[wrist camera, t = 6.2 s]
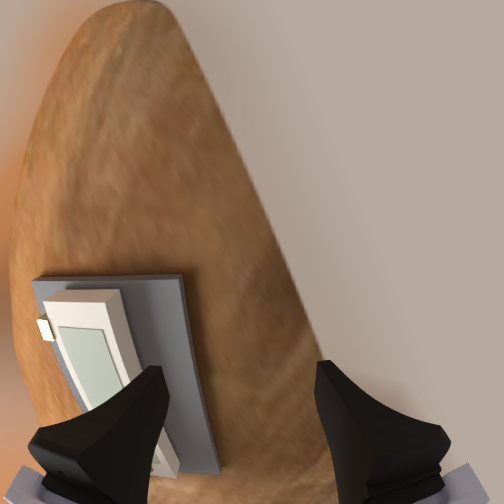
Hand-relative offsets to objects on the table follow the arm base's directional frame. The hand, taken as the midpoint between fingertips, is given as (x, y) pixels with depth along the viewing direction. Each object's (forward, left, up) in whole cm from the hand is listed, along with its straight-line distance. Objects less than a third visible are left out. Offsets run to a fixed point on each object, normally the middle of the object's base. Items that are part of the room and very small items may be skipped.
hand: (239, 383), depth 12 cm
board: (-11, +4, -6) cm, 13 cm away
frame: (-10, +4, -4) cm, 12 cm away
